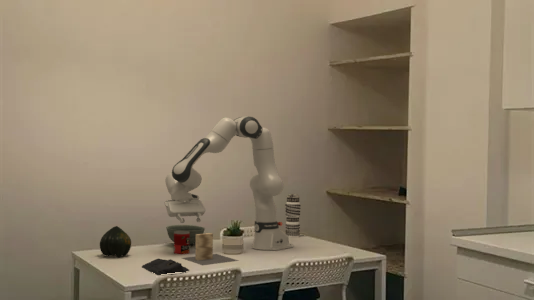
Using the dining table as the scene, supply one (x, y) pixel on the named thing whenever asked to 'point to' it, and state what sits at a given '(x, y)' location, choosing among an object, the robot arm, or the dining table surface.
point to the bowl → (192, 230)
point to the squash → (115, 242)
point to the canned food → (181, 242)
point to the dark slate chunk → (164, 266)
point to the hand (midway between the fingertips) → (191, 221)
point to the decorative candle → (292, 215)
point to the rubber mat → (211, 260)
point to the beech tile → (204, 246)
